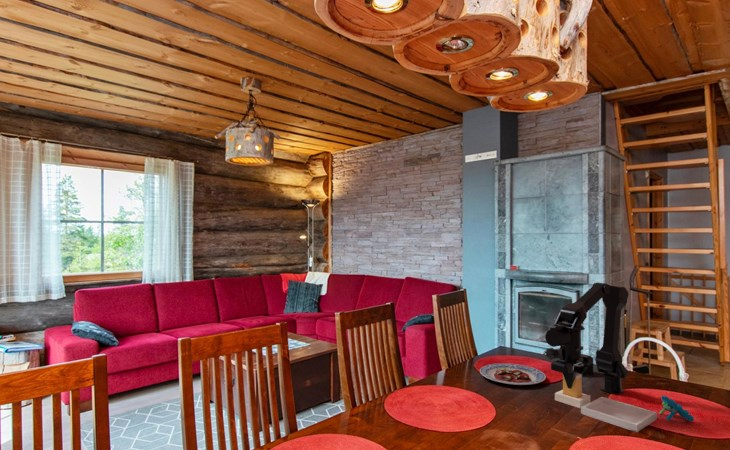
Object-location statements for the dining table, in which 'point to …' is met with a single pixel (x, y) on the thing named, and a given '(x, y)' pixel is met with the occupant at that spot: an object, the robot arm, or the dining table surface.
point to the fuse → (574, 387)
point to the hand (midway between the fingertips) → (572, 387)
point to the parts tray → (619, 414)
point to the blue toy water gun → (674, 409)
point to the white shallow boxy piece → (572, 399)
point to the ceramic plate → (512, 374)
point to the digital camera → (589, 368)
